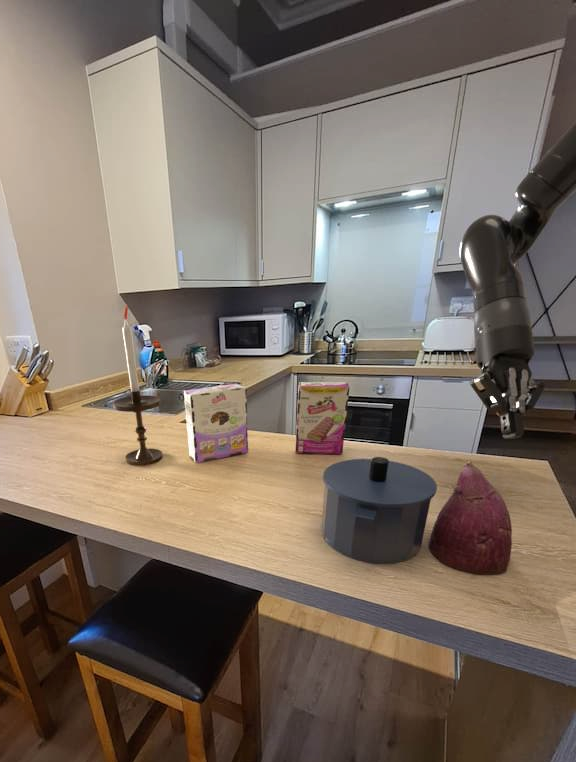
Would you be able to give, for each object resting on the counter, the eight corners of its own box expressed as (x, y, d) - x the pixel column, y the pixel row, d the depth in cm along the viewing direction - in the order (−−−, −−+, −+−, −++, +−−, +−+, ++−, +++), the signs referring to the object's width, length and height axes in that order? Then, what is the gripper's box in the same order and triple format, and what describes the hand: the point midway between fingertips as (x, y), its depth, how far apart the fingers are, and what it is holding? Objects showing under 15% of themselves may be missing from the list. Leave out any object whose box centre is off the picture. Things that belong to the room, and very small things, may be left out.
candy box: (239, 446, 102) (237, 382, 94) (248, 453, 97) (247, 386, 89) (188, 455, 97) (182, 389, 90) (195, 463, 92) (190, 394, 85)
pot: (424, 515, 67) (434, 464, 63) (415, 587, 51) (428, 525, 47) (337, 499, 73) (341, 452, 69) (305, 558, 58) (309, 502, 54)
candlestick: (169, 449, 102) (153, 302, 87) (162, 466, 92) (144, 303, 77) (128, 451, 102) (105, 304, 87) (117, 467, 92) (89, 306, 77)
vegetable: (413, 561, 61) (399, 470, 57) (464, 538, 63) (454, 449, 60) (476, 589, 51) (464, 481, 47) (534, 561, 53) (526, 456, 50)
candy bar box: (295, 454, 95) (298, 386, 88) (295, 447, 99) (297, 381, 92) (343, 455, 93) (350, 385, 86) (341, 447, 97) (347, 381, 90)
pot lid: (437, 473, 61) (442, 448, 59) (433, 521, 49) (439, 492, 47) (335, 459, 68) (337, 437, 66) (310, 498, 56) (311, 472, 54)
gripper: (491, 316, 59) (502, 428, 56) (557, 328, 62) (571, 434, 60) (450, 340, 66) (459, 440, 64) (511, 350, 69) (522, 445, 67)
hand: (513, 437), depth 62 cm, fingers closed
